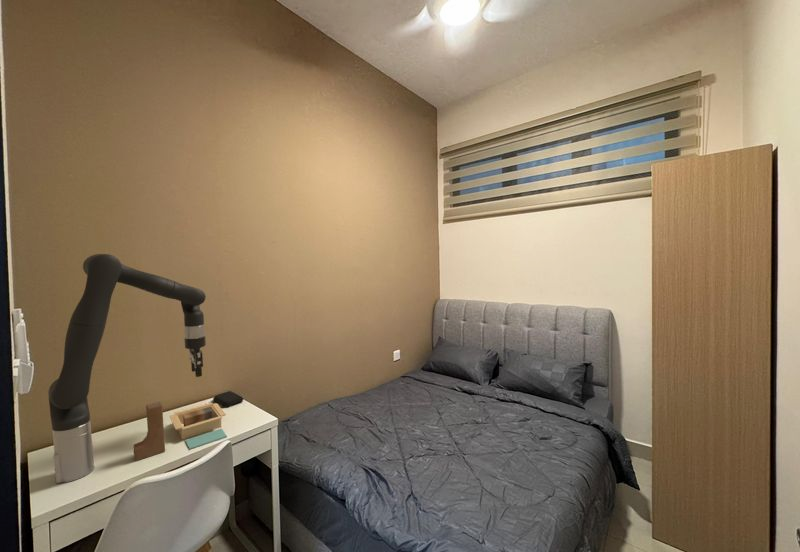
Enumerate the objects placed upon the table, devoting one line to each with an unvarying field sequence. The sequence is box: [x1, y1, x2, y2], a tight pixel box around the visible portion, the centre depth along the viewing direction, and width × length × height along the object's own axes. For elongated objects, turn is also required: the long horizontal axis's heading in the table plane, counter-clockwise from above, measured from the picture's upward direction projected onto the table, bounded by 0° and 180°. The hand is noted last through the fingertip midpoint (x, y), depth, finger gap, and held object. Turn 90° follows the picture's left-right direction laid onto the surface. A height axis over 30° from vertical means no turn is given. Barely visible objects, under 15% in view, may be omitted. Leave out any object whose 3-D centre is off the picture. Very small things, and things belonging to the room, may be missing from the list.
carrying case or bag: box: [212, 390, 244, 408], centre depth 172 cm, size 11×3×15 cm
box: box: [183, 407, 213, 427], centre depth 147 cm, size 10×5×6 cm, turn 131°
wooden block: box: [133, 401, 166, 462], centre depth 127 cm, size 9×4×18 cm, turn 131°
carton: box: [169, 402, 227, 440], centre depth 147 cm, size 18×19×5 cm
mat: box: [185, 428, 228, 450], centre depth 137 cm, size 13×8×1 cm, turn 131°
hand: (196, 373), depth 145 cm, fingers open, 8 cm apart
